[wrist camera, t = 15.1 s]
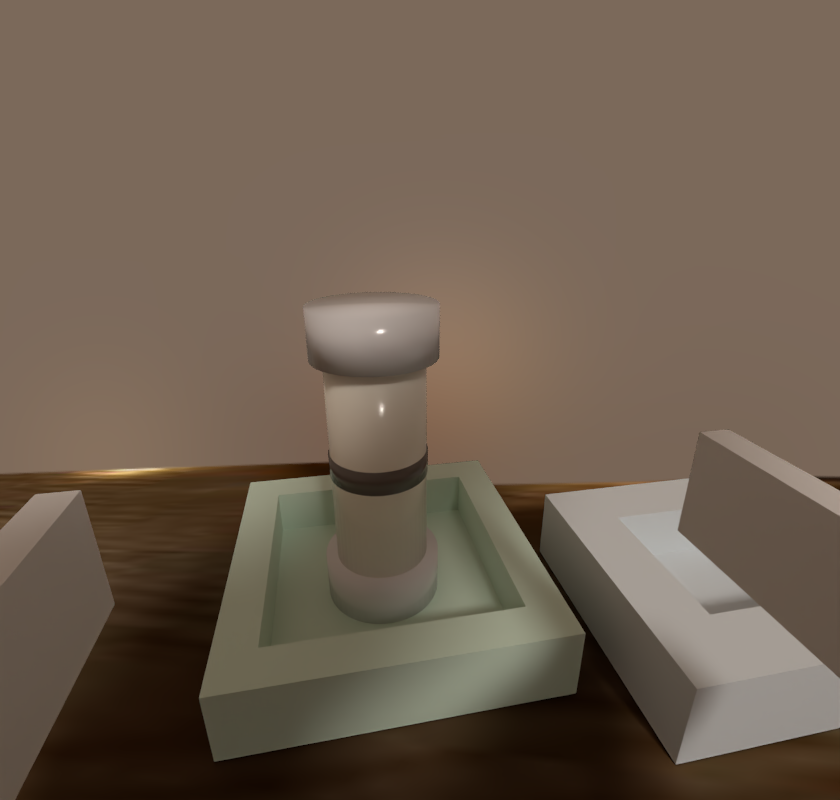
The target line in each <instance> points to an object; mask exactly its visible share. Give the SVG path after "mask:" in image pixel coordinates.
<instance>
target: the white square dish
mask: <svg viewBox="0 0 840 800" xmlns="http://www.w3.org/2000/svg"><path fill="white" fill-rule="evenodd" d="M688 482H689V478H688V479H679V480H670V481H661V482H652V483H643V484H635V485H626V486H617V487H608V488H599V489H591V490H582V491H573V492H564V493H555V494H547V495H545V504H544V513H543V523H542V533H541V542H540V552H541V554H542V556H543V557H544V559H545V560H546V562H547V563H548V565H549V567H550V568H551V570H552V571H553V573H554V574H555V576H556V578H557V579H558V581H559V582H560V584H561V585H562V587H563V589H564V590H565V592H566V593H567V595H568V596H569V598H570V600H571V601H572V603H573V604H574V606H575V607H576V609H577V611H578V612H579V614H580V615H581V617H582V618H583V620H584V622H585V623H586V625H587V626H588V628H589V629H590V631H591V633H592V634H593V636H594V637H595V639H596V640H597V642H598V644H599V645H600V647H601V648H602V650H603V651H604V653H605V655H606V656H607V658H608V659H609V661H610V662H611V664H612V666H613V667H614V669H615V670H616V672H617V673H618V675H619V677H620V678H621V680H622V681H623V683H624V684H625V686H626V688H627V689H628V691H629V692H630V694H631V695H632V697H633V699H634V700H635V702H636V703H637V705H638V706H639V708H640V710H641V711H642V713H643V714H644V716H645V717H646V719H647V721H648V722H649V724H650V725H651V727H652V728H653V730H654V732H655V733H656V735H657V736H658V738H659V739H660V741H661V743H662V744H663V746H664V747H665V749H666V750H667V752H668V754H669V755H670V757H671V758H672V760H673V761H674V763H675V765H676V764H681V763H685V762H690V761H694V760H699V759H703V758H708V757H712V756H716V755H721V754H725V753H730V752H734V751H739V750H743V749H748V748H752V747H756V746H761V745H765V744H770V743H774V742H779V741H783V740H788V739H792V738H796V737H801V736H805V735H810V734H814V733H819V732H823V731H828V730H832V729H837V728H840V678H839V677H838V676H836V675H835V674H834V673H833V672H832V671H831V670H830V669H829V668H828V667H827V666H826V665H824V664H823V663H822V662H821V661H820V660H819V659H818V658H817V657H816V656H815V655H813V654H812V653H811V652H810V651H809V650H808V649H807V648H806V647H805V646H804V645H803V644H801V643H800V642H799V641H798V640H797V639H796V638H795V637H794V636H793V635H792V634H790V633H789V632H788V631H787V630H786V629H785V628H784V627H783V626H782V625H781V624H780V623H778V622H777V621H776V620H775V619H774V618H773V617H772V616H771V615H770V614H769V613H768V612H766V611H765V610H764V609H763V608H762V607H761V606H760V605H759V604H758V603H757V602H755V601H754V600H753V599H752V598H751V597H750V596H749V595H748V594H747V593H746V592H745V591H743V590H742V589H741V588H740V587H739V586H738V585H737V584H736V583H735V582H734V581H732V580H731V579H730V578H729V577H728V576H727V575H726V574H725V573H724V572H723V571H722V570H720V569H719V568H718V567H717V566H716V565H715V564H714V563H713V562H712V561H711V560H710V559H708V558H707V557H706V556H705V555H704V554H703V553H702V552H701V551H700V550H699V549H697V548H696V547H695V546H694V545H693V544H692V543H691V542H690V541H689V540H688V539H687V538H685V537H684V536H683V535H682V534H681V533H680V532H679V531H678V526H679V522H680V517H681V513H682V508H683V504H684V499H685V495H686V491H687V486H688Z"/></svg>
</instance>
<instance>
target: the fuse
mask: <svg viewBox="0 0 840 800" xmlns="http://www.w3.org/2000/svg"><path fill="white" fill-rule="evenodd" d="M303 311H304V322H305V333H306V343H307V354H308V362H309V364H310V365H311V366H312V367H313V368H315V369H317V370H320V371H322V372H323V383H324V394H325V406H326V418H327V430H328V442H329V450H328V457H329V468H330V477H331V480H332V489H333V501H334V513H335V525H336V533H335V534H334V535H333V537H332V538H331V540H330V542H329V544H328V547H327V553H326V555H327V565H328V576H329V586H330V595H331V598H332V600H333V602H334V604H335V605H336V606H337V608H338V609H339V610H340V611H341V612H342V613H344V614H345V615H347V616H348V617H351V618H353V619H355V620H358V621H361V622H365V623H371V624H388V623H395V622H399V621H402V620H405V619H408V618H410V617H412V616H414V615H416V614H418V613H419V612H420V611H422V610H423V609H424V608H425V607H426V606H427V605H428V604H429V603H430V602H431V600H432V599H433V597H434V595H435V593H436V590H437V572H438V544H437V540H436V538H435V536H434V534H433V533H432V531H431V530H430V529H429V528H428V527H427V503H426V475H427V472H428V450H427V449H428V447H427V444H426V368H427V367H429V366H431V365H433V364H434V363H436V362H437V360H438V359H439V334H440V333H439V331H440V330H439V329H440V303H439V302H438V301H437V300H436V299H434V298H431V297H427V296H422V295H416V294H409V293H396V292H364V293H350V294H340V295H333V296H327V297H322V298H318V299H314V300H312V301H309V302H308V303H305V304H304V306H303Z"/></svg>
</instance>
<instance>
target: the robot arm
mask: <svg viewBox="0 0 840 800" xmlns="http://www.w3.org/2000/svg"><path fill="white" fill-rule="evenodd" d="M678 531H679V532H680V533H681V534H682V535H683V536H684V537H685V538H687V539H688V540H689V541H690V542H691V543H692V544H693V545H694V546H695V547H696V548H697V549H699V550H700V551H701V552H702V553H703V554H704V555H705V556H706V557H707V558H708V559H710V560H711V561H712V562H713V563H714V564H715V565H716V566H717V567H718V568H719V569H720V570H722V571H723V572H724V573H725V574H726V575H727V576H728V577H729V578H730V579H731V580H732V581H734V582H735V583H736V584H737V585H738V586H739V587H740V588H741V589H742V590H743V591H745V592H746V593H747V594H748V595H749V596H750V597H751V598H752V599H753V600H754V601H755V602H757V603H758V604H759V605H760V606H761V607H762V608H763V609H764V610H765V611H766V612H768V613H769V614H770V615H771V616H772V617H773V618H774V619H775V620H776V621H777V622H778V623H780V624H781V625H782V626H783V627H784V628H785V629H786V630H787V631H788V632H789V633H790V634H792V635H793V636H794V637H795V638H796V639H797V640H798V641H799V642H800V643H801V644H803V645H804V646H805V647H806V648H807V649H808V650H809V651H810V652H811V653H812V654H813V655H815V656H816V657H817V658H818V659H819V660H820V661H821V662H822V663H823V664H824V665H826V666H827V667H828V668H829V669H830V670H831V671H832V672H833V673H834V674H835V675H836V676H838V677H839V678H840V491H839V490H838V489H836V488H834V487H832V486H830V485H829V484H827V483H825V482H823V481H821V480H820V479H818V478H816V477H814V476H812V475H810V474H809V473H807V472H805V471H803V470H801V469H800V468H798V467H796V466H794V465H792V464H791V463H789V462H787V461H785V460H783V459H782V458H780V457H778V456H776V455H774V454H772V453H771V452H769V451H767V450H765V449H763V448H762V447H760V446H758V445H756V444H754V443H752V442H751V441H749V440H747V439H745V438H743V437H742V436H740V435H738V434H736V433H735V432H733V431H731V430H729V429H727V430H715V431H704V432H700V433H699V438H698V442H697V447H696V451H695V456H694V460H693V464H692V469H691V473H690V477H689V482H688V486H687V491H686V495H685V499H684V504H683V508H682V513H681V517H680V522H679V526H678ZM114 605H115V603H114V600H113V597H112V593H111V590H110V587H109V583H108V580H107V576H106V573H105V570H104V566H103V563H102V560H101V556H100V553H99V550H98V546H97V543H96V540H95V536H94V533H93V530H92V526H91V523H90V520H89V516H88V513H87V510H86V506H85V503H84V500H83V496H82V493H81V490H78V491H67V492H56V493H46V494H35V495H34V496H33V497H32V498H31V499H30V500H29V501H28V502H27V503H26V504H25V505H24V507H23V508H22V509H21V510H20V511H19V512H18V513H17V514H16V515H15V516H14V517H13V518H12V519H11V520H10V521H9V522H8V523H7V524H6V525H5V526H4V527H3V528H2V529H1V530H0V800H15V799H16V797H17V795H18V793H19V791H20V789H21V787H22V785H23V783H24V781H25V779H26V777H27V775H28V773H29V771H30V769H31V767H32V765H33V763H34V762H35V760H36V758H37V756H38V754H39V752H40V750H41V748H42V746H43V744H44V742H45V740H46V738H47V736H48V734H49V732H50V730H51V728H52V726H53V724H54V722H55V720H56V718H57V716H58V714H59V713H60V711H61V709H62V707H63V705H64V703H65V701H66V699H67V697H68V695H69V693H70V691H71V689H72V687H73V685H74V683H75V681H76V679H77V677H78V675H79V673H80V671H81V669H82V667H83V665H84V664H85V662H86V660H87V658H88V656H89V654H90V652H91V650H92V648H93V646H94V644H95V642H96V640H97V638H98V636H99V634H100V632H101V630H102V628H103V626H104V624H105V622H106V620H107V618H108V616H109V614H110V613H111V611H112V609H113V607H114Z"/></svg>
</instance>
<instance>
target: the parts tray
mask: <svg viewBox="0 0 840 800" xmlns="http://www.w3.org/2000/svg"><path fill="white" fill-rule="evenodd" d="M426 503H427V527H428V528H429V529H430V530H431V531H432V533H433V534H434V536H435V538H436V540H437V544H438V572H437V590H436V593H435V595H434V597H433V599H432V600H431V602H430V603H429V604H428V605H427V606H426V607H425V608H424V609H423V610H422V611H420V612H419V613H418V614H416V615H414V616H412V617H410V618H408V619H405V620H402V621H399V622H395V623H388V624H371V623H365V622H361V621H358V620H355V619H353V618H351V617H348V616H347V615H345V614H344V613H342V612H341V611H340V610H339V609H338V608H337V606H336V605H335V604H334V602H333V600H332V598H331V595H330V586H329V576H328V565H327V555H326V553H327V547H328V544H329V542H330V540H331V538H332V537H333V535H334V534H335V533H336V525H335V513H334V501H333V489H332V480H331V477H330V475H323V476H313V477H303V478H293V479H283V480H273V481H263V482H252V483H251V484H250V488H249V492H248V496H247V500H246V504H245V508H244V513H243V517H242V521H241V525H240V529H239V533H238V538H237V542H236V546H235V550H234V554H233V558H232V562H231V567H230V571H229V575H228V579H227V583H226V587H225V591H224V596H223V600H222V604H221V608H220V612H219V616H218V621H217V625H216V629H215V633H214V637H213V641H212V645H211V650H210V654H209V658H208V662H207V666H206V670H205V675H204V679H203V683H202V687H201V691H200V695H199V701H200V706H201V710H202V714H203V718H204V722H205V726H206V731H207V735H208V739H209V743H210V747H211V751H212V755H213V760H214V762H216V761H222V760H227V759H232V758H237V757H243V756H248V755H253V754H259V753H264V752H269V751H274V750H280V749H285V748H290V747H295V746H301V745H306V744H311V743H317V742H322V741H327V740H332V739H338V738H343V737H348V736H353V735H359V734H364V733H369V732H375V731H380V730H385V729H390V728H396V727H401V726H406V725H411V724H417V723H422V722H427V721H433V720H438V719H443V718H448V717H454V716H459V715H464V714H469V713H475V712H480V711H485V710H491V709H496V708H501V707H506V706H512V705H517V704H522V703H527V702H533V701H538V700H543V699H549V698H554V697H559V696H564V695H570V694H575V693H576V691H577V685H578V678H579V672H580V666H581V659H582V653H583V647H584V641H585V634H586V633H585V632H584V630H583V628H582V627H581V625H580V624H579V622H578V620H577V619H576V617H575V616H574V614H573V612H572V611H571V609H570V608H569V606H568V604H567V603H566V601H565V600H564V598H563V596H562V595H561V593H560V591H559V590H558V588H557V587H556V585H555V583H554V582H553V580H552V579H551V577H550V575H549V574H548V572H547V571H546V569H545V567H544V566H543V564H542V562H541V561H540V559H539V558H538V556H537V554H536V553H535V551H534V550H533V548H532V546H531V545H530V543H529V542H528V540H527V538H526V537H525V535H524V534H523V532H522V530H521V529H520V527H519V525H518V524H517V522H516V521H515V519H514V517H513V516H512V514H511V513H510V511H509V509H508V508H507V506H506V505H505V503H504V501H503V500H502V498H501V496H500V495H499V493H498V492H497V490H496V488H495V487H494V485H493V484H492V482H491V480H490V479H489V477H488V476H487V474H486V472H485V471H484V469H483V468H482V466H481V464H480V463H479V461H478V460H476V461H466V462H456V463H445V464H436V465H428V472H427V475H426Z"/></svg>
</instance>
